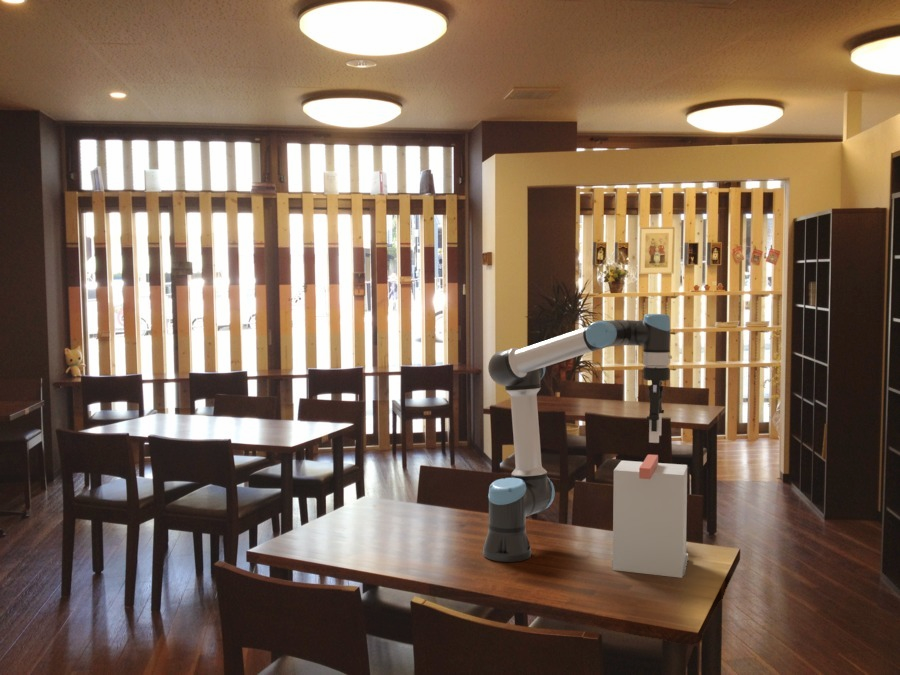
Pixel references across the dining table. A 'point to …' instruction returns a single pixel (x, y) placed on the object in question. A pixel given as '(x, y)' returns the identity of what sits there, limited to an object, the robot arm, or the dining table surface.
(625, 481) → the white upright block
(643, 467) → the lever bar
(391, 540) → the dining table surface
